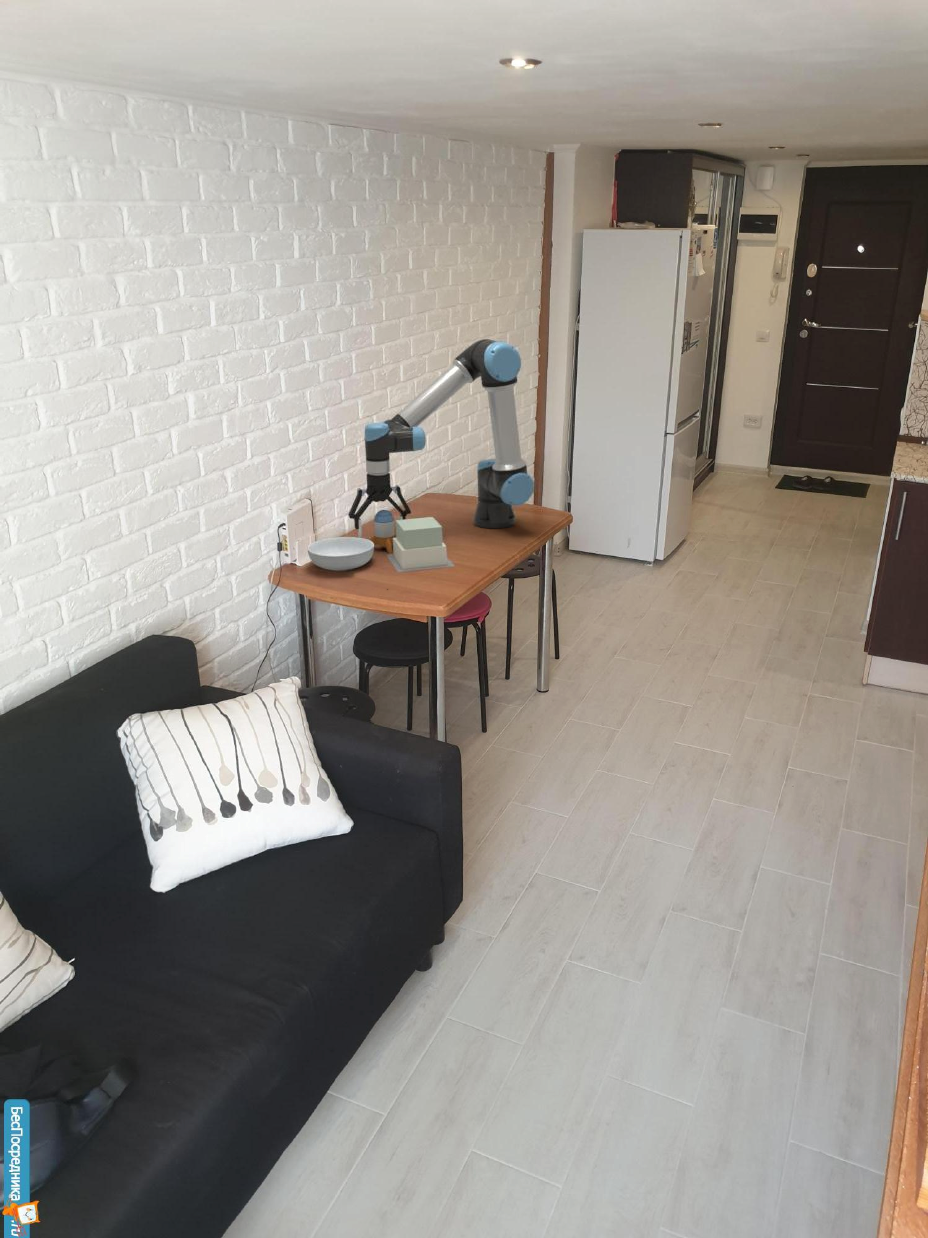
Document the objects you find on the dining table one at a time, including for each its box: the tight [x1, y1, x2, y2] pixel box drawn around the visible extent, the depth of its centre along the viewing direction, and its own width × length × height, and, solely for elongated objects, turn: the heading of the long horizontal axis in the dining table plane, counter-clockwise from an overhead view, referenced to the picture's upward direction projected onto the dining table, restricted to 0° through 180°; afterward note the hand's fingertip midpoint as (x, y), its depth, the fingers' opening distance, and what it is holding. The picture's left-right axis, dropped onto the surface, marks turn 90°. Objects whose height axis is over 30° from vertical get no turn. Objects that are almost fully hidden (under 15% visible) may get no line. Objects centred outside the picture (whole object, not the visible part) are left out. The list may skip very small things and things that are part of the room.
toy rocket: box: [369, 509, 397, 555], centre depth 309 cm, size 10×11×15 cm
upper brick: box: [395, 516, 443, 549], centre depth 297 cm, size 12×12×6 cm
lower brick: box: [392, 537, 448, 569], centre depth 299 cm, size 14×14×6 cm
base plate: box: [386, 553, 455, 573], centre depth 300 cm, size 18×18×1 cm
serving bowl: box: [307, 536, 375, 572], centre depth 298 cm, size 21×21×7 cm
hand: (380, 536), depth 310 cm, fingers open, 13 cm apart
